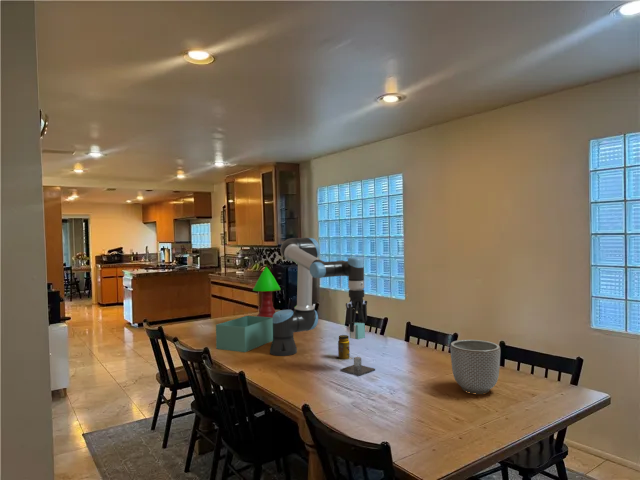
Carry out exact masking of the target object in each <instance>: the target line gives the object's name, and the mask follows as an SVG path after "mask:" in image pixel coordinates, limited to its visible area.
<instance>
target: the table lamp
mask: <svg viewBox="0 0 640 480" xmlns="http://www.w3.org/2000/svg"><path fill="white" fill-rule="evenodd" d="M252 291H253V292H256V293H257V292H258V293H259V292H261V305H260V306H261V307H260V308H259V312H258V314H257V315H256V316H258V317H271V318H273V314H274V313H275V312H276V309H275V307H274V306H273V305H274V304H273V303H274V302H273V292H278V291H281V287H280V285H279V283H278V282H277V280H276V278H275V276H274V275H273V274H272V272H271V270H270V269H269V268H268V267H267V266H265V267H264V269H263V271H262V272H261V274H260V275H259V277H258V279H257V281H256V283H255V285H254V287H253V288H252Z"/></svg>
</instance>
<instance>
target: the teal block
mask: <svg viewBox="0 0 640 480" xmlns="http://www.w3.org/2000/svg"><path fill="white" fill-rule="evenodd" d="M365 324H366V323H359V322H358V321H357V322H356V321H355V324H354V325H356V339H355V340H361V339H365V338H366V329H365V328H366V325H365ZM349 339H352V338H351V332H350V331H349Z"/></svg>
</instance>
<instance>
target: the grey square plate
mask: <svg viewBox="0 0 640 480" xmlns="http://www.w3.org/2000/svg"><path fill="white" fill-rule="evenodd" d="M339 371H340V372H343V373H347V374H349V375H354V376H358V377H361V376H363V375H366V374H367V375H368V374H369V373H372V372H374V371H376V368H374V367H370V366H365V365H362V357H360V356H355V357H353V364H352V365H349V366H345V367H343V368H340V369H339Z"/></svg>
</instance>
